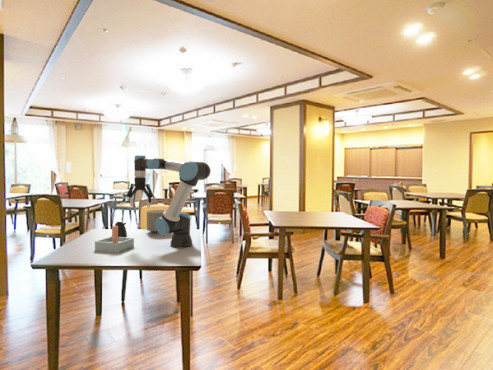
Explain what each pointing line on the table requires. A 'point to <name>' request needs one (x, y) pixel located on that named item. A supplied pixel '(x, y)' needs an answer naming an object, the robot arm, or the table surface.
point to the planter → (153, 219)
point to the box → (114, 244)
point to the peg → (115, 234)
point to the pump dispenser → (121, 229)
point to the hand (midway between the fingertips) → (140, 206)
